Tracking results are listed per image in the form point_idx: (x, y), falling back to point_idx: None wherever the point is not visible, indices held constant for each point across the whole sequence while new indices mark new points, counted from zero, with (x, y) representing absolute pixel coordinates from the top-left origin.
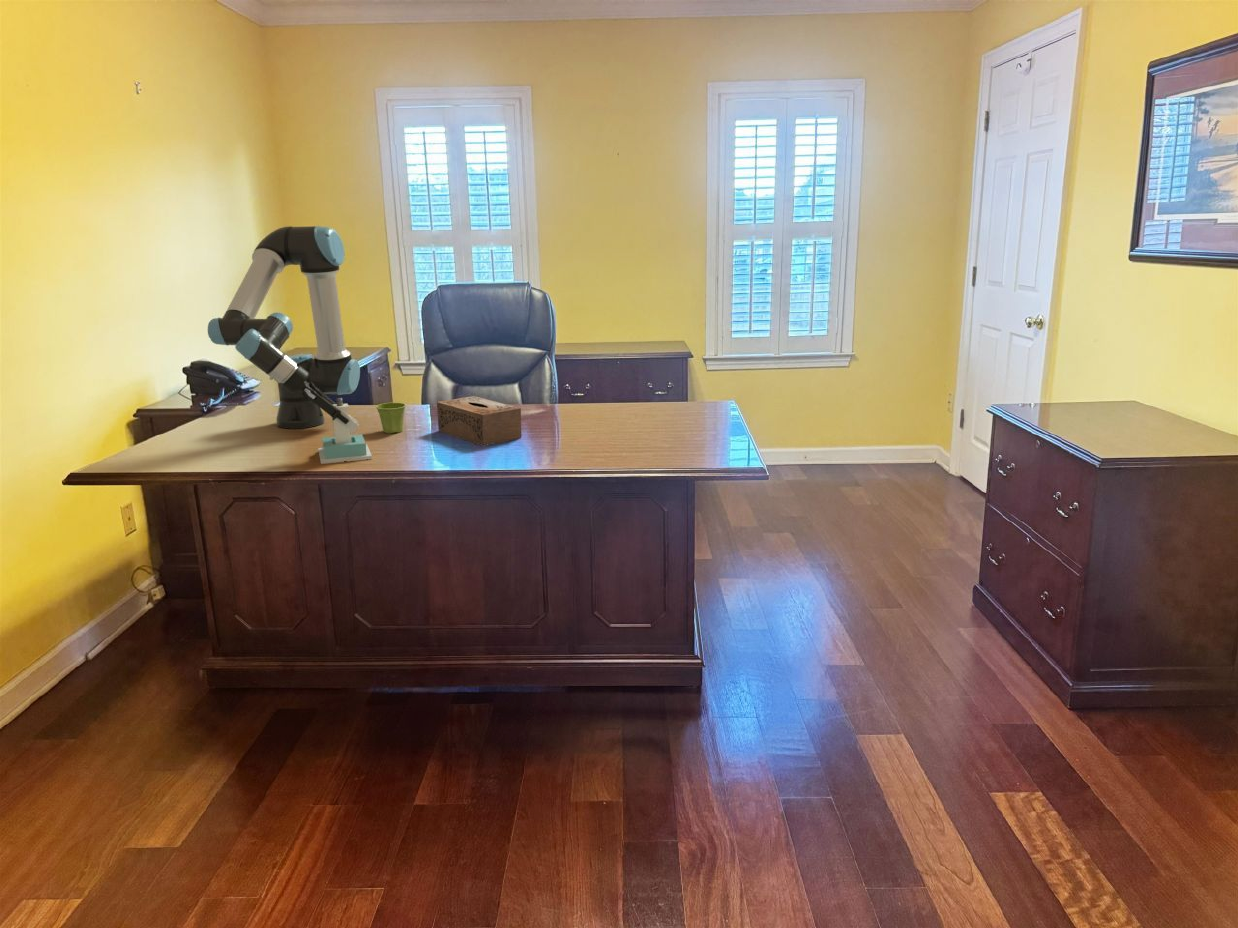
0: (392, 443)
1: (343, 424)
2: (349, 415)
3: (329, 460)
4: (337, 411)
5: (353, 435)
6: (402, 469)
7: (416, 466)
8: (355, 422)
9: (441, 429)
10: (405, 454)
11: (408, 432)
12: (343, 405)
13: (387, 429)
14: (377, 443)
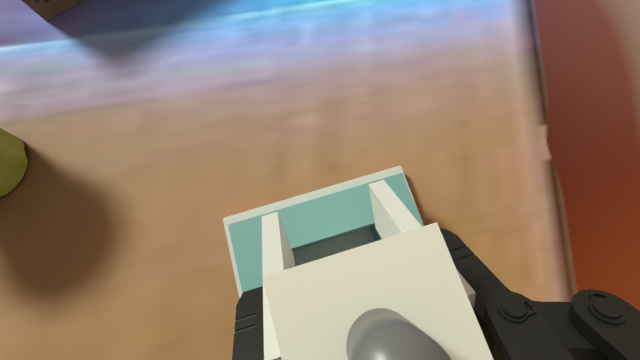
0: (184, 138)
1: None
2: (282, 261)
3: None
4: (627, 313)
5: (245, 262)
6: (514, 57)
7: (478, 25)
8: (394, 197)
9: (55, 4)
10: (339, 74)
11: (32, 110)
12: (382, 298)
13: (6, 177)
14: (173, 192)
